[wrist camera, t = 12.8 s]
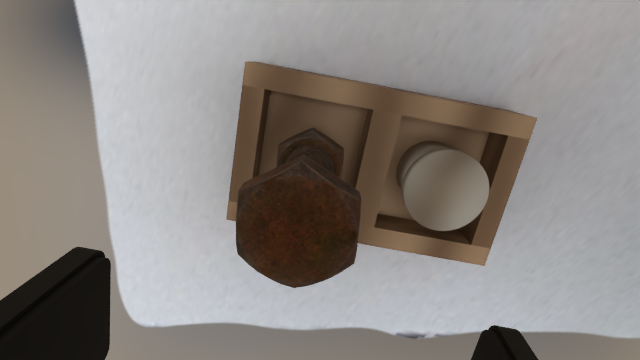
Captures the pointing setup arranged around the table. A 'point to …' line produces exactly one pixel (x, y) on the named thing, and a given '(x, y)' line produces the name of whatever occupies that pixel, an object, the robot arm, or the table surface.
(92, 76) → the table surface
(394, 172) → the wooden divided tray
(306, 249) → the bolt
